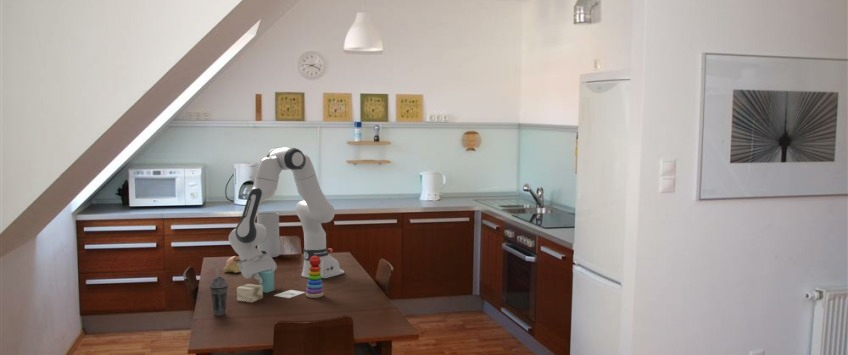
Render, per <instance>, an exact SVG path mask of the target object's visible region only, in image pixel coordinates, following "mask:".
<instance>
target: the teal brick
mask: <svg viewBox="0 0 848 355" xmlns="http://www.w3.org/2000/svg"><path fill="white" fill-rule="evenodd" d="M259 276H260V277H261V278H263V279H264V280H265V281H264V282H263V283H260V282H259V281H258V285H262V286H263V293H270V292H273V291H275V271H264V272H260V273H259Z"/></svg>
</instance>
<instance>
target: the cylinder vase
mask: <svg viewBox="0 0 848 355" xmlns="http://www.w3.org/2000/svg"><path fill="white" fill-rule="evenodd" d="M256 223H258V224H262V225H264V226H265V227H266V229H267V232H268V234H267V238H266V239H265V240H264V241H263V242H262V243H260V244H259V245H257V248H256V249H258V250H263V251H267V252H268V255H269V256H270V257H271V258H272V259H273V258H277V257H279V256H280V213H279V212H275V211H271V212H270V211H269V212H268V211H265V212H257V216H256Z"/></svg>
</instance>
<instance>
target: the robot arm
mask: <svg viewBox="0 0 848 355" xmlns="http://www.w3.org/2000/svg"><path fill="white" fill-rule="evenodd" d="M256 169H257V170H256V173H255V178H254V182H253V185H252V187H251V190H250V191H249V194H248V196H247V199H246V203H245V205H244V209H243V211H242V212H243V213H242V216H241V218H240V220H239V221H238V224H237V225H236V227H235V228H234V229H233V230H231V231H230V232H229V235H228V243H229V244H230V246H231V247H232V249H233V251H234V252H235V253H236V254H237V255H238V257H239V259H241V260H242V261H239V262H238V264H237V265H238V267H239V269H240V273H241V275H242V276H243V278H244V279H247V280H248V279H252V278H254V279H255V280H257V281H258V283H259V282H260V283H263V282H264V281H265V280H264V279H263V278H261V277H260V276H259V273H260V272H264V271H273V272H275V271H276V270H277V268H278V266H277V263H276V262H275V259H273V258H271V257H270V256H269V255H268V252H267V251H263V250H258V249H257V248H256V246H257V245H259V244H260V243H262V242H263V241H264V240H265V239H266V238H267V234H268V232H267V229H266V227H265V226H264V225H262V224H258V223H257V222H256V220H257V214H258V213H259V210H260V209H259V208H260V205H261V204H262V203H263V202H264V201H266V200H268V199H271V198H272V197H273V196H274V195H275V193H276V191H277V189H278V184H279V179H280V174H281V173H282V171H283V170H284V171H286V170H290V171H291V172H292V176H293V179H294V183H295V186H296V190H297V193H298V194H299V196H301V197H302V200H299V201H298V202H297V204H296V205H295V209H294V210H295V214H296V216H297V217H298V218H299V220H300V224H301V227H302V231H303V239H304V240H303V241H304V242H303V244H304V248H303V265H302V266H303V267H302V271H301V276H302V277H303V278H306V279H309V278H308V276H309V271H310V269H309V268H310V266H311V264H310V262H309V261H310V258H311V257H312V256H318V257H319V258H320V260H321V262H320V264H319V266H320V268H321V269H320V270H319V271H320V272H321V274H320V275H321V279H327V278H332V277H335V276H339V275H342V274H345V271H344V270H343V269H341V267H340V263H339V261H338V260H337V259H336V258H334V257H333V256H332V255H330V253H333V248H331V247H330V248H327V237H326V236H327V233H326V231H325V229H324V228H323V226H322V224H326V223H330V222H331V221H332V220H334V217H335V213H336V211H335V207H334V206H333V205H332V204H331V203H330V202H329V201H328V200H327V197H326V196H325V194H324V192H323V191H322V189H321V187H320V183H319V181H318V180H319V179H318V177H317V172H316V170H315V167H314V164H313V163H312V160H311V158H310V157H309V156H308V155H307V154H304V153H303V151H302V150H300V149H299V148H296V147H286V146H285V147H275V148H274V147H273V148H272V149H270V150H269V152H268V153H267V155H266V157H263V158H262V159H261V160H260V163H259V164H258V166H257V168H256Z"/></svg>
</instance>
